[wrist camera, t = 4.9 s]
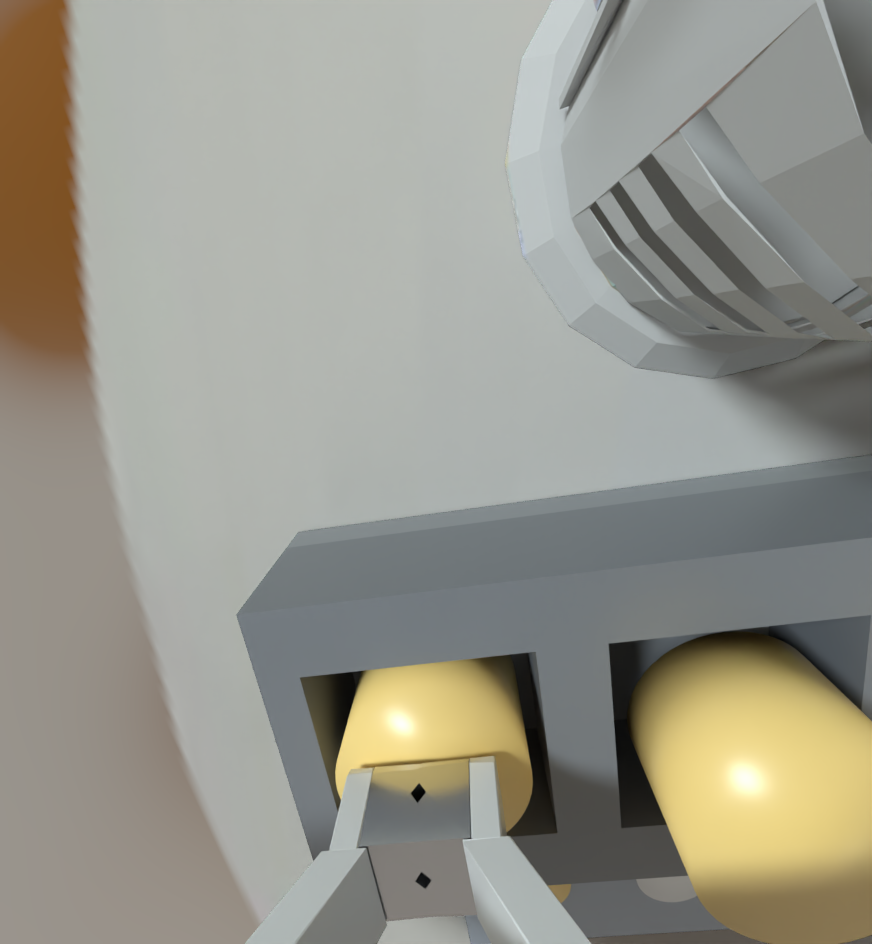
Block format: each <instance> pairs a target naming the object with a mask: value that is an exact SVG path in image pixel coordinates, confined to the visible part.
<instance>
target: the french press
mask: <svg viewBox="0 0 872 944" xmlns="http://www.w3.org/2000/svg"><path fill="white" fill-rule="evenodd" d="M505 167H506V172H507V177H508V182H509V188H510V193H511V198H512V203H513V208H514V213H515V218H516V223H517V228H518V233H519V239H520V244H521V249H522V254H523V257H524V258H525V260H526V261H527V263H528V264H529V266H530V267H531V269H532V271H533V272H534V274H535V275H536V277H537V278H538V280H539V281H540V283H541V284H542V286H543V287H544V289H545V290H546V292H547V293H548V295H549V296H550V298H551V299H552V301H553V302H554V304H555V305H556V307H557V308H558V310H559V312H560V313H561V315H562V316H563V318H564V319H565V321H566V322H567V324H568V325H569V326H570V327H572V328H573V329H575V330H577V331H578V332H580V333H581V334H583V335H584V336H586V337H588V338H589V339H591V340H592V341H594V342H596V343H597V344H599V345H600V346H602V347H603V348H605V349H607V350H608V351H610V352H611V353H613V354H614V355H616V356H618V357H619V358H621V359H622V360H624V361H626V362H627V363H629V364H630V365H632V366H633V367H636V368H643V369H650V370H657V371H664V372H671V373H678V374H685V375H692V376H699V377H706V378H717V377H721V376H725V375H730V374H734V373H738V372H742V371H746V370H750V369H754V368H758V367H762V366H766V365H770V364H774V363H778V362H782V361H787V360H791V359H795V358H797V357H799V356H800V355H802V354H803V353H805V352H806V351H808V350H809V349H811V348H812V347H814V346H815V345H817V344H818V343H820V342H822V341H823V340H848V341H869V342H872V327H868V328H865V329H864V328H862V327H861V326H860V325H858V324H861V323H864V322H867V321H871V320H872V0H552V2H551V4H550V6H549V8H548V10H547V12H546V14H545V16H544V18H543V19H542V21H541V23H540V25H539V27H538V29H537V31H536V33H535V35H534V36H533V38H532V40H531V42H530V44H529V46H528V48H527V50H526V52H525V54H524V55H523V57H522V59H521V65H520V71H519V77H518V84H517V90H516V97H515V103H514V109H513V116H512V122H511V128H510V135H509V141H508V148H507V154H506V160H505Z"/></svg>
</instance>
